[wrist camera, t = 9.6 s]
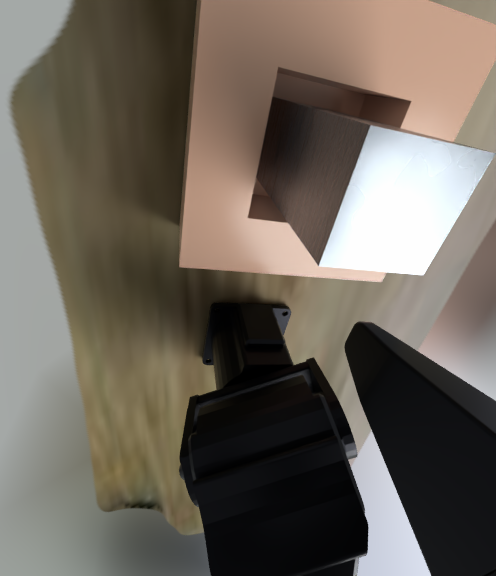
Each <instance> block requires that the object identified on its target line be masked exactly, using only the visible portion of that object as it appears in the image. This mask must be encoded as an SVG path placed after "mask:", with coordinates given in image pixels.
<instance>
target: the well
mask: <svg viewBox="0 0 496 576" xmlns="http://www.w3.org/2000/svg"><path fill="white" fill-rule="evenodd" d="M495 60H496V25H495V24H493V23H490V22H487V21H484V20H482V19H479V18H476V17H473V16H471V15H468V14H465V13H462V12H460V11H457V10H454V9H451V8H449V7H446V6H443V5H440V4H438V3H435V2H432V1H429V0H197V4H196V17H195V30H194V43H193V56H192V69H191V82H190V95H189V108H188V121H187V134H186V147H185V160H184V173H183V186H182V199H181V212H180V225H179V267H184V268H198V269H211V270H225V271H239V272H252V273H266V274H279V275H293V276H306V277H320V278H333V279H347V280H360V281H374V282H382V280H383V278H384V276H385V274H386V272H379V271H367V270H356V269H344V268H332V267H320V266H318V265H317V263H316V262H315V260H314V259H313V258H312V256H311V255H310V253H309V252H308V251H307V249H306V248H305V246H304V245H303V243H302V242H301V241H300V239H299V238H298V236H297V235H296V233H295V232H294V231H293V229H292V228H291V226H290V225H289V224H288V222H287V221H286V219H285V218H284V216H283V215H282V214H281V212H280V211H279V209H278V208H277V206H276V205H275V204H274V202H273V201H272V199H271V198H270V197H269V195H268V194H267V192H266V191H265V189H264V188H263V187H262V185H261V184H260V182H259V181H258V179H257V178H256V175H257V170H258V165H259V160H260V155H261V150H262V145H263V140H264V135H265V130H266V125H267V120H268V115H269V110H270V106H271V101H272V97H277V98H281V99H285V100H290V101H294V102H298V103H303V104H307V105H311V106H316V107H320V108H324V109H329V110H333V111H337V112H342V113H345V114H349V115H353V116H357V117H361V118H364V119H368V120H372V121H376V122H379V123H383V124H387V125H391V126H394V127H398V128H402V129H406V130H410V131H413V132H417V133H421V134H425V135H428V136H432V137H436V138H440V139H443V140H447V141H451V142H454V140H455V138H456V136H457V134H458V132H459V130H460V128H461V126H462V124H463V123H464V121H465V119H466V117H467V115H468V113H469V111H470V109H471V107H472V105H473V103H474V101H475V99H476V97H477V95H478V93H479V91H480V89H481V87H482V86H483V84H484V82H485V80H486V78H487V76H488V74H489V72H490V70H491V68H492V66H493V64H494V62H495Z"/></svg>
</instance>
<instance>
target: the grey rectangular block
mask: <svg viewBox="0 0 496 576" xmlns="http://www.w3.org/2000/svg"><path fill="white" fill-rule="evenodd" d="M495 154H496V153H492V152H489V151H485V150H481V149H477V148H474V147H470V146H466V145H462V144H459V143H455V142H451V141H447V140H443V139H440V138H436V137H432V136H428V135H425V134H421V133H417V132H413V131H410V130H406V129H402V128H398V127H394V126H391V125H387V124H383V123H379V122H376V121H372V120H368V119H364V118H361V117H357V116H353V115H349V114H345V113H342V112H337V111H333V110H329V109H324V108H320V107H316V106H311V105H307V104H303V103H298V102H294V101H290V100H285V99H281V98H277V97H272V101H271V106H270V110H269V115H268V120H267V125H266V130H265V135H264V140H263V145H262V150H261V155H260V160H259V165H258V170H257V175H256V178H257V179H258V181H259V182H260V184H261V185H262V187H263V188H264V189H265V191H266V192H267V194H268V195H269V197H270V198H271V199H272V201H273V202H274V204H275V205H276V206H277V208H278V209H279V211H280V212H281V214H282V215H283V216H284V218H285V219H286V221H287V222H288V224H289V225H290V226H291V228H292V229H293V231H294V232H295V233H296V235H297V236H298V238H299V239H300V241H301V242H302V243H303V245H304V246H305V248H306V249H307V251H308V252H309V253H310V255H311V256H312V258H313V259H314V260H315V262H316V263H317V265H318V266H320V267H332V268H344V269H356V270H367V271H379V272H391V273H403V274H414V275H424V273H425V272H426V270H427V268H428V266H429V265H430V263H431V261H432V260H433V258H434V256H435V255H436V253H437V251H438V250H439V248H440V246H441V245H442V243H443V241H444V240H445V238H446V236H447V235H448V233H449V231H450V229H451V228H452V226H453V224H454V223H455V221H456V219H457V218H458V216H459V214H460V213H461V211H462V209H463V208H464V206H465V204H466V203H467V201H468V199H469V198H470V196H471V194H472V192H473V191H474V189H475V187H476V186H477V184H478V182H479V181H480V179H481V177H482V176H483V174H484V172H485V171H486V169H487V167H488V166H489V164H490V162H491V161H492V159H493V157H494V155H495Z"/></svg>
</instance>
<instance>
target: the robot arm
mask: <svg viewBox="0 0 496 576" xmlns="http://www.w3.org/2000/svg"><path fill="white" fill-rule="evenodd" d="M217 308H218V309H219V310H215V309H217ZM284 311H286V312H285V313H283V312H284ZM290 315H291V311H290V309H289V307H288V306H281V305H263V304H242V303H241V304H238V303H214V304H212V305H211V307H210V313H209V319H208V325H207V331H206V338H205V344H204V350H203V356H202V360H203V364H205V365H214V372H215V380H216V389H217V390H215V391H212V392H209V393H206V394H203V395H200V396H199V395H195V396H192V397H190V399H189V405H188V409H187V414H186V420H185V426H184V432H183V438H182V444H181V450H180V463H181V465H180V468H179V472H180V476H181V478H182V479H183V480H185V483H186V487H187V490H188V493H189V496H190V498H191V500H192V502H193V503H194V504H195V506H197V507H199V509H200V514H201V518H202V523H203V528H204V534H205V540H206V547H207V553H208V561H209V568H210V572H211V576H357V571H358V563H359V557H362V556H366V555H367V550H368V522H367V520H366V517H365V508H364V504H363V501H362V498H361V495H360V492H359V490H358V487H357V484H356V481H355V478H354V476H353V473H352V470H351V467H350V464H349V461H348V460H349V459H352V458H355V457H357V449H356V445H355V441H354V438H353V435H352V432H351V429H350V426H349V424H348V421H347V419H346V416H345V414H344V411H343V409H342V407H341V405H340V403H339V401H338V399H337V397H336V395H335V393H334V391H333V390H332V388H331V386H330V384H329V383H328V381H327V379H326V378H325V376H324V374H323V372H322V371H321V369H320V367H319V366H318V364H317V362H316V360H315V359H314V357H313V358H310V359H307V360H306V362H302V363H299V364H296V365H293V362H292V359H291V357H290V354H289V352H288V349H287V346H286V344H285V339H284V337H283V335H284V332H285V330H286V327H287V324H288V321H289V318H290ZM345 353H346V356H347V360H348V363H349V366H350V370H351V373H352V376H353V380H354V383H355V386H356V390H357V393H358V396H359V399H360V402H361V405H362V407H363V410H364V412H365V415H366V417H367V420H368V422H369V424H370V427H371V429H372V432H373V434H374V437H375V439H376V442H377V444H378V446H379V449H380V451H381V454H382V456H383V459H384V461H385V463H386V466H387V468H388V471H389V473H390V476H391V478H392V480H393V483H394V485H395V488H396V490H397V493H398V495H399V497H400V500H401V503H402V505H403V507H404V510H405V512H406V515H407V517H408V519H409V522H410V525H411V527H412V529H413V532H414V534H415V537H416V539H417V541H418V544H419V546H420V549H421V551H422V554H423V556H424V558H425V561H426V563H427V566H428V568H429V571H430V573H431V576H496V401H495V400H493V399H492V398H490V397H488V396H487V395H485V394H484V393H482V392H481V391H479V390H478V389H476V388H474V387H473V386H471V385H470V384H468V383H467V382H465V381H463V380H462V379H460V378H459V377H457V376H456V375H454V374H452V373H451V372H449V371H448V370H446V369H445V368H443V367H441V366H440V365H438V364H437V363H435V362H434V361H432V360H430V359H429V358H427V357H426V356H424V355H423V354H421V353H419V352H418V351H416V350H415V349H413V348H412V347H410V346H408V345H407V344H405V343H404V342H402V341H401V340H399V339H397V338H396V337H394V336H393V335H391V334H390V333H388V332H386V331H385V330H383V329H382V328H380V327H379V326H377V325H375V324H374V323H372V322H357V323H356V324H355V325H354V326H353V328H352V330H351V332H350V334H349V336H348V338H347V340H346V342H345ZM207 359H209V360H207Z"/></svg>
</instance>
